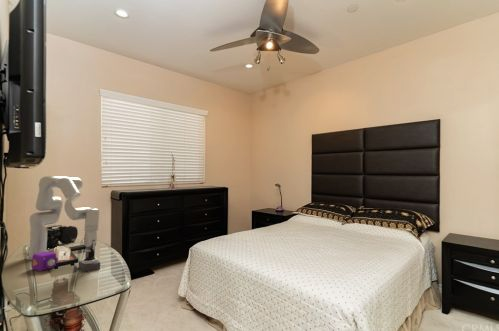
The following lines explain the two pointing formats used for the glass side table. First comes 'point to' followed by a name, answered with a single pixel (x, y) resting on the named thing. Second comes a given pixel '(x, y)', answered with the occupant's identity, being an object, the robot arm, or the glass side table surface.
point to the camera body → (89, 265)
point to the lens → (88, 254)
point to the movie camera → (60, 235)
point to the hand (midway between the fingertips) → (89, 256)
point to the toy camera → (44, 260)
